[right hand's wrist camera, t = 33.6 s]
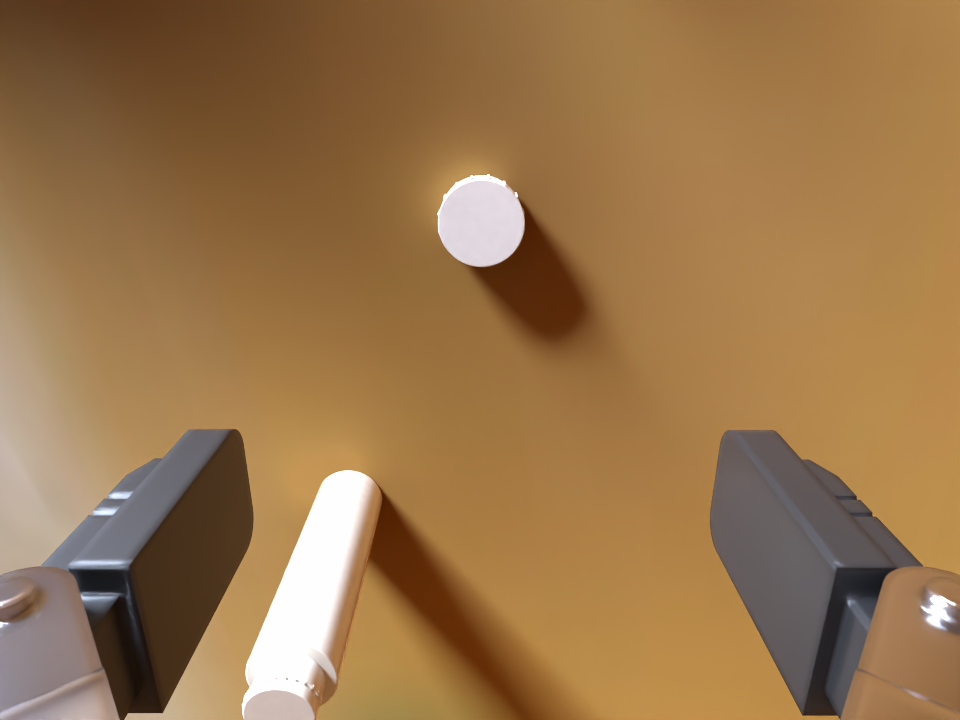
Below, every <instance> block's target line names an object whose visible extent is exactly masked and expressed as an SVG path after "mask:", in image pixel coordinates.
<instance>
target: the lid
mask: <svg viewBox="0 0 960 720" xmlns="http://www.w3.org/2000/svg"><path fill="white" fill-rule="evenodd" d="M518 198H519V197H518V195H517V193H516V192H515V193H514V191H513V190H512V189H511V188H510V187H509V186H508V185H507V184H506V182H505V181H501V180H499V179H497V178H494V177H491V176H490V175H488V176H485V175H478V176H473V175H471V177H468V178H466V179H463V180H462V181H460V182H456V183H455V185H454V186H453V187H452V188H451V189H450V191H449V192H448V193H447V194H445V195H444V198H443V200H444V201H443V203H442V206H441V209H439V212H438V215H437V216H439V217H438V229H439V230H438V233H439V234H440V238H441V240H442V243H443V244H444V246H445V248H446V249H447V251H448V252H449V253H450V254H451V255H452V256H453V257H455V258H456V259H457V260H459V261H460V262H462V263H465V264H467V265H470V266H476V267H487V266H492V265H495V264H498V263H500V262H502V261H504V260H505V259H507V258H508V257H509V256H511V255H512V254H513V252H514V251H515V250H516V249H517V247H518V246H519V244H520V242H521V240H522V237H523V233H524V231H525V228H524V227H525V220H524V214H525V212H524V209H523V208H522V207H521V204H520V202H519V199H518Z"/></svg>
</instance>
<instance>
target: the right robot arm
mask: <svg viewBox="0 0 960 720" xmlns="http://www.w3.org/2000/svg"><path fill="white" fill-rule="evenodd" d="M710 528H711V535H712V540H713V544H714V547H715V549H716V551H717V553H718V555H719V557H720V559H721V561H722V563H723V565H724V567H725V569H726V570H727V572H728V574H729V576H730V578H731V580H732V582H733V584H734V586H735V588H736V590H737V591H738V593H739V595H740V597H741V599H742V601H743V603H744V605H745V607H746V609H747V610H748V612H749V614H750V616H751V618H752V620H753V622H754V624H755V626H756V628H757V630H758V631H759V633H760V635H761V637H762V639H763V641H764V643H765V645H766V647H767V649H768V650H769V652H770V654H771V656H772V658H773V660H774V662H775V664H776V666H777V668H778V670H779V671H780V673H781V675H782V677H783V679H784V681H785V683H786V685H787V687H788V689H789V691H790V692H791V694H792V696H793V698H794V700H795V702H796V704H797V706H798V708H799V710H800V711H801V713H802V715H838V717H839V719H840V720H960V575H958V574H955V573H952V572H948V571H945V570H940V569H936V568H929V567H924V566H923V565H922V564H921V563H920V562H919V561H918V560H917V559H916V558H915V557H914V556H913V555H912V554H911V553H910V552H909V551H908V550H907V549H906V547H905V546H904V545H903V544H902V543H901V542H900V541H899V540H898V539H897V538H896V537H895V536H894V535H893V534H892V533H891V532H890V531H889V530H888V529H887V528H886V526H885V525H884V524H883V523H882V522H881V521H880V520H879V519H878V518H877V517H873V516H872V512H871V511H870V510H869V509H868V508H867V507H866V505H865V504H864V503H863V502H862V501H861V500H857V496H856V495H855V494H854V493H853V492H852V491H851V490H850V489H849V488H848V487H847V486H846V484H845V483H844V482H843V481H842V480H841V479H840V478H839V477H838V476H836V475H834V474H833V473H831V472H829V471H828V470H826V469H824V468H822V467H821V466H819V465H817V464H816V463H814V462H812V461H810V460H801V458H800V457H799V456H798V455H797V454H796V453H795V452H794V451H793V449H792V448H791V447H790V446H789V445H788V444H787V443H786V442H785V441H784V439H783V438H782V437H781V436H780V435H779V434H778V433H777V432H776V431H773V430H728V431H726V432H725V433H724V435H723V437H722V439H721V443H720V449H719V455H718V462H717V469H716V476H715V483H714V490H713V497H712V504H711V511H710ZM252 531H253V506H252V499H251V492H250V485H249V478H248V471H247V464H246V457H245V450H244V444H243V439H242V436H241V434H240V432H239V431H238V430H236V429H190V430H188V431H187V432H186V433H185V434H184V435H183V436H182V437H181V438H180V440H179V441H178V442H177V443H176V444H175V445H174V446H173V447H172V449H171V450H170V451H169V452H168V453H167V454H166V455H165V457H164V458H163V459H153V460H152V461H150V462H148V463H147V464H145V465H143V466H141V467H140V468H138V469H136V470H135V471H133V472H131V473H129V474H128V475H126V476H125V477H124V478H123V479H122V481H121V482H120V483H119V484H118V485H117V486H116V487H115V488H114V489H113V490H112V491H111V492H110V493H109V494H108V499H104V500H103V501H102V502H101V503H100V504H99V505H98V506H97V507H96V508H95V509H94V510H93V514H92V515H88V517H87V518H86V519H85V520H84V521H83V522H82V523H81V524H80V525H79V526H78V527H77V528H76V529H75V530H74V531H73V532H72V534H71V535H70V536H69V537H68V538H67V539H66V540H65V541H64V542H63V543H62V544H61V545H60V546H59V547H58V548H57V549H56V550H55V552H54V553H53V554H52V555H51V556H50V557H49V558H48V559H47V560H46V561H45V562H44V563H43V564H42V565H41V566H40V567H31V568H24V569H20V570H15V571H12V572H8V573H5V574H2V575H0V720H124V719H125V717H126V715H127V714H128V713H163V711H164V709H165V707H166V705H167V704H168V702H169V700H170V698H171V696H172V694H173V692H174V690H175V688H176V686H177V684H178V682H179V680H180V678H181V677H182V675H183V673H184V671H185V669H186V667H187V665H188V663H189V661H190V659H191V657H192V655H193V653H194V651H195V650H196V648H197V646H198V644H199V642H200V640H201V638H202V636H203V634H204V632H205V630H206V628H207V626H208V624H209V623H210V621H211V619H212V617H213V615H214V613H215V611H216V609H217V607H218V605H219V603H220V601H221V599H222V597H223V596H224V594H225V592H226V590H227V588H228V586H229V584H230V582H231V580H232V578H233V576H234V574H235V572H236V570H237V569H238V567H239V565H240V563H241V561H242V559H243V557H244V555H245V553H246V551H247V549H248V547H249V544H250V541H251V536H252Z"/></svg>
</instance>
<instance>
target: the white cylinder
mask: <svg viewBox="0 0 960 720" xmlns="http://www.w3.org/2000/svg"><path fill="white" fill-rule="evenodd" d="M381 505H382V495H381V491H380V489H379V487H378V486H377V484H376V483H375V482H374V481H373V480H372V479H371V478H370V477H368V476H367V475H365V474H363V473H360V472H356V471H340V472H337V473H334V474H332V475H330V476H329V477H327V478H326V479H325V480H324V481H323V483H322V484H321V486H320V488H319V491H318V493H317V496H316V498H315V500H314V503H313V505H312V508H311V510H310V513H309V515H308V517H307V520H306V522H305V525H304V527H303V529H302V532H301V534H300V537H299V539H298V542H297V544H296V546H295V549H294V551H293V554H292V556H291V558H290V561H289V563H288V566H287V568H286V571H285V573H284V575H283V578H282V580H281V583H280V585H279V587H278V590H277V592H276V595H275V597H274V600H273V602H272V604H271V607H270V609H269V612H268V614H267V616H266V619H265V621H264V624H263V626H262V629H261V631H260V633H259V636H258V638H257V641H256V643H255V645H254V648H253V650H252V653H251V655H250V658H249V660H248V663H247V665H246V680H247V683H248V685H249V687H250V688H249V690H248V691H247V692H246V694H245V696H244V700H243V703H242V710H243V713H242V714H243V718H244V720H316V718H317V715H318V711H319V707H320V706H321V705H323V704H324V703H326V702H327V701H328V700H329V699H330V698H331V697H332V696H333V694H334V693H335V691H336V689H337V686H338V682H339V678H340V674H341V669H342V665H343V661H344V657H345V653H346V649H347V645H348V641H349V637H350V633H351V628H352V624H353V620H354V616H355V612H356V608H357V604H358V600H359V596H360V591H361V587H362V583H363V579H364V575H365V571H366V567H367V563H368V559H369V554H370V550H371V546H372V542H373V538H374V534H375V530H376V526H377V522H378V518H379V513H380V509H381Z"/></svg>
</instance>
